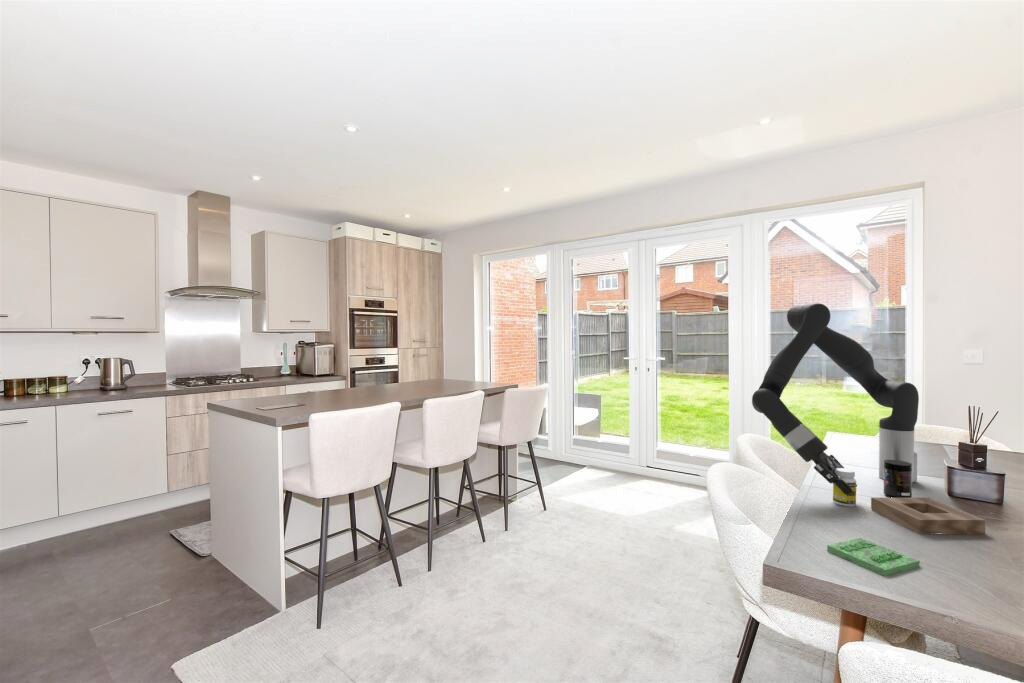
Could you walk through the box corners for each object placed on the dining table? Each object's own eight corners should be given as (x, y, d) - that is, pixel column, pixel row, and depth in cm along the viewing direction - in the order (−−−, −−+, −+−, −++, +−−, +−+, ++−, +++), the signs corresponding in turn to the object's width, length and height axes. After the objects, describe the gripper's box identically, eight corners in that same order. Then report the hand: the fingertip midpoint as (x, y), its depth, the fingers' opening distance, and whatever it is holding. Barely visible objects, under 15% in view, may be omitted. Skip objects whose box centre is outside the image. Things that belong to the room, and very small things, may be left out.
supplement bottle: (849, 508, 134) (849, 473, 133) (828, 502, 138) (829, 468, 138) (860, 504, 136) (860, 471, 136) (839, 498, 141) (839, 466, 141)
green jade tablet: (884, 579, 96) (885, 567, 96) (827, 553, 107) (827, 543, 107) (919, 569, 100) (919, 558, 100) (860, 546, 111) (860, 535, 111)
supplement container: (897, 492, 147) (897, 459, 146) (918, 500, 140) (918, 465, 140) (877, 493, 146) (877, 459, 146) (897, 501, 139) (897, 465, 139)
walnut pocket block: (928, 510, 132) (929, 497, 132) (985, 534, 116) (985, 520, 116) (871, 509, 132) (871, 497, 132) (919, 534, 116) (919, 519, 116)
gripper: (808, 439, 137) (858, 489, 129) (821, 431, 147) (868, 478, 139) (788, 453, 141) (835, 503, 133) (801, 445, 151) (846, 491, 143)
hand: (851, 490), depth 136 cm, fingers closed on supplement bottle, 5 cm apart
